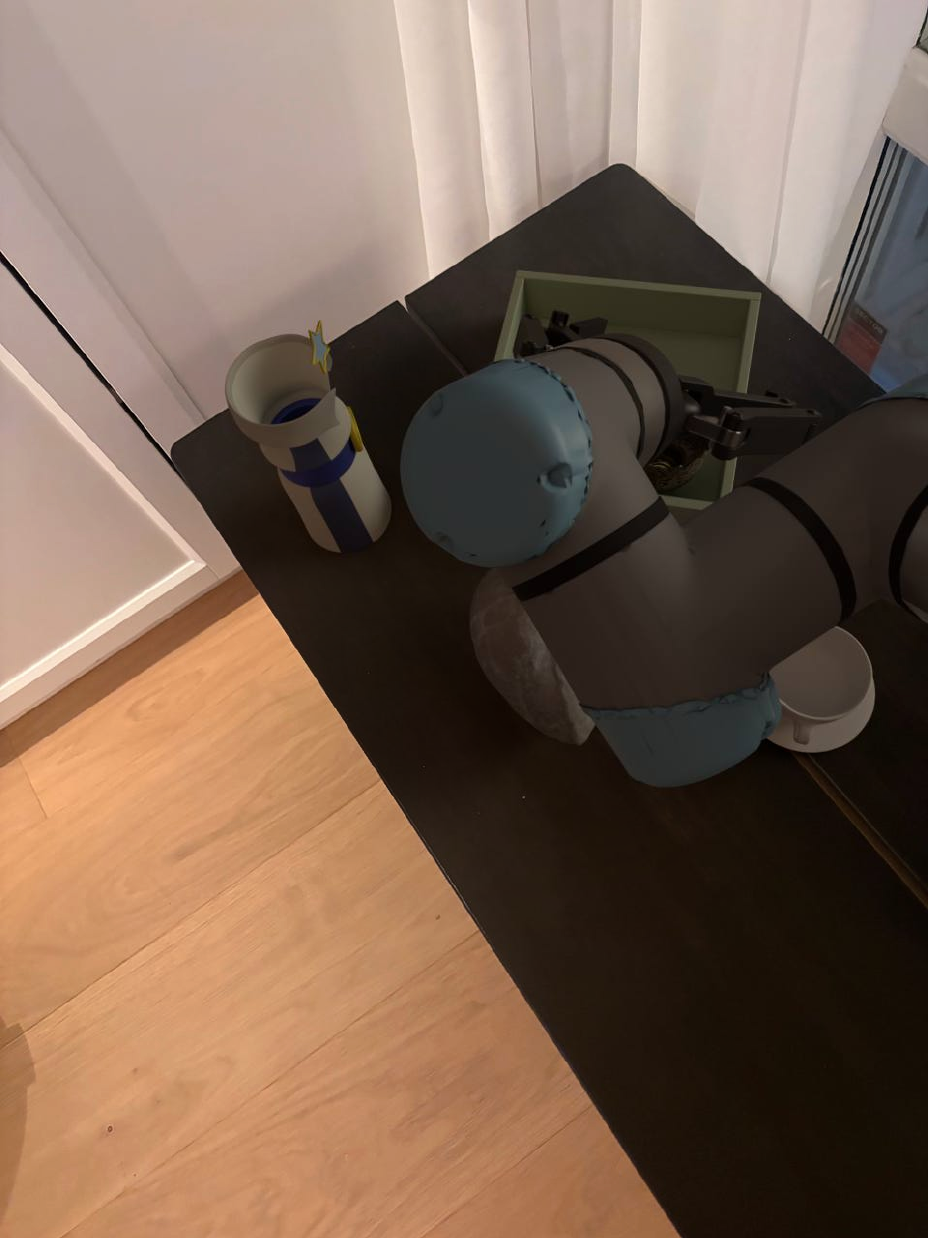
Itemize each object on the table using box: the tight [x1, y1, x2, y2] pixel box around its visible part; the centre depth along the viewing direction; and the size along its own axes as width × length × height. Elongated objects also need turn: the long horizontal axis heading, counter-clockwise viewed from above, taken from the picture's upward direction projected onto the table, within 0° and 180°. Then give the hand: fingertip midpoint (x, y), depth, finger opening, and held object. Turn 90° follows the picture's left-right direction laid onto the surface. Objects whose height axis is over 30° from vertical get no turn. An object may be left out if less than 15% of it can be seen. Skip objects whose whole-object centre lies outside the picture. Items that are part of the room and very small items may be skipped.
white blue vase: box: [224, 319, 393, 554], centre depth 68 cm, size 8×9×25 cm
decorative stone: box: [468, 567, 596, 747], centre depth 65 cm, size 15×10×15 cm
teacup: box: [765, 625, 876, 753], centre depth 67 cm, size 10×10×5 cm
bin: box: [492, 269, 762, 524], centre depth 76 cm, size 21×21×6 cm
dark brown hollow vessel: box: [643, 389, 710, 493], centre depth 72 cm, size 8×7×8 cm
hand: (685, 366), depth 65 cm, fingers open, 13 cm apart
